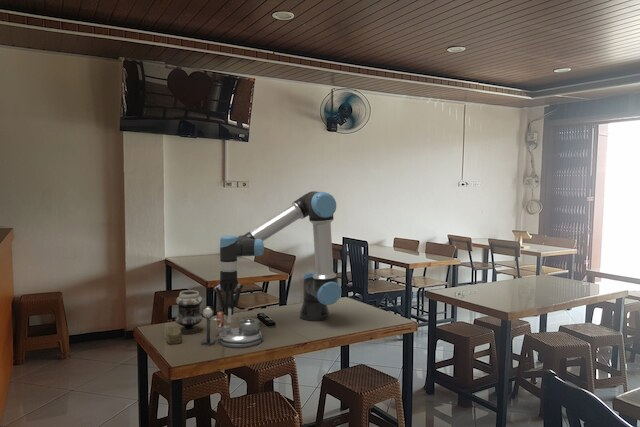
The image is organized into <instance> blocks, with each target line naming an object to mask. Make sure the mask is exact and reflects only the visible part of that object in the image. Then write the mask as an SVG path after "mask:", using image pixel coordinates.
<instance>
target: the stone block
mask: <svg viewBox="0 0 640 427" xmlns="http://www.w3.org/2000/svg"><path fill="white" fill-rule="evenodd" d="M180 328H181V327H180V326H178V325H177V326H176V325H175V326H166V328H165V337H166V341H167V343H168V344H169V345H177V344H176V343H178V344H182V342H183V339H182V338H183V336H182V335H183V334H182V333H181V330H180ZM174 343H175V344H174Z"/></svg>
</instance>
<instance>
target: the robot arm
mask: <svg viewBox="0 0 640 427" xmlns="http://www.w3.org/2000/svg"><path fill="white" fill-rule="evenodd" d="M336 210H337V201H336V199H335V197H334V196H333V195H332V194H331V193H329V192H325V191H317V190H316V191H315V190H313V191H309V192H307V193H305V194H303V195H302V196H300V197H298V198H297V199H295V200H294V201H293V202H292V203H291V205H290V206H288V207H286V208H285V209H284V210H282V211H281V212H279V213H277V214H276V215H274V216H272V217H270V218H269V219H267V220H266V221H264V222H263V223H261V224H258V226H256V227H255V228H253V229H251V230H250V231H248V232H246V233H245V234H240V235H238V236H237V235H222V236H221V237H220V242H219V270H220V271H219V276H220V277H219V280H220V281H219V282H218V285H217V286H214V290H215V291H216V295H217V297H218V298H217V299H218V302H219V306H220V308H222V309H224V316H226V323H227V324H232V316H233V315H234V309H235V308H236V307H237V306H238V304H239V300H240V295H241V291H242V289H243V287H244V285H243V284H241V283H239V281H238V271H237V270H238V257H239V258H240V257H241V258H242V257H257V256H262V255H264V252H265V251H264V250H265V243H264V241H266V240H267V239H269V238H271V237H272V236H274V235H275V234H277V233H279V232H280V231H282V230H283V229H285V228H287V227H289V226H290V225H291V224H292V223H294V222H296V221H298V220H299V219H300V220H303V219H305V218H307V217H308V218H309V219H308V220H309V222H310V223H311V224H312V231H313V233H312V236H313V247H314V250H313V251H314V264H315V265H314V266H315V272H314V271H313V272H305V273H304V275H303V280H302V281H303V303H302V305H301V308H300V311H299V318H300V319H302V320H305V321H310V322H314V321H316V322H319V321H325V320H328V319H330V310H329V308H328V306H333V305H334V304H335V303H337V302H338V300H339V299H340V298H341V296H342V288H341V286H340V284H339V283H338V276H337V274H336V273H335V271H334V261H333V260H334V258H333V244H332V243H333V241H332V225H331V224H332V222H333V221H334V214H335V212H336ZM221 289H222V291H223V294H222V292H221ZM235 289H236V290H235ZM234 293H235V294H234Z"/></svg>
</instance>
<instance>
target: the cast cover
mask: <svg viewBox="0 0 640 427" xmlns="http://www.w3.org/2000/svg"><path fill="white" fill-rule="evenodd" d="M260 321H261V320H259V319H258V318H253V317H246V318H242V319H239V321H238V327H239V334H240V335H244V336H252V335H257V334H259V332H260V331H261V330H260V329H261V328H260V327H261V325H260V324H261V322H260Z"/></svg>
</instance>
